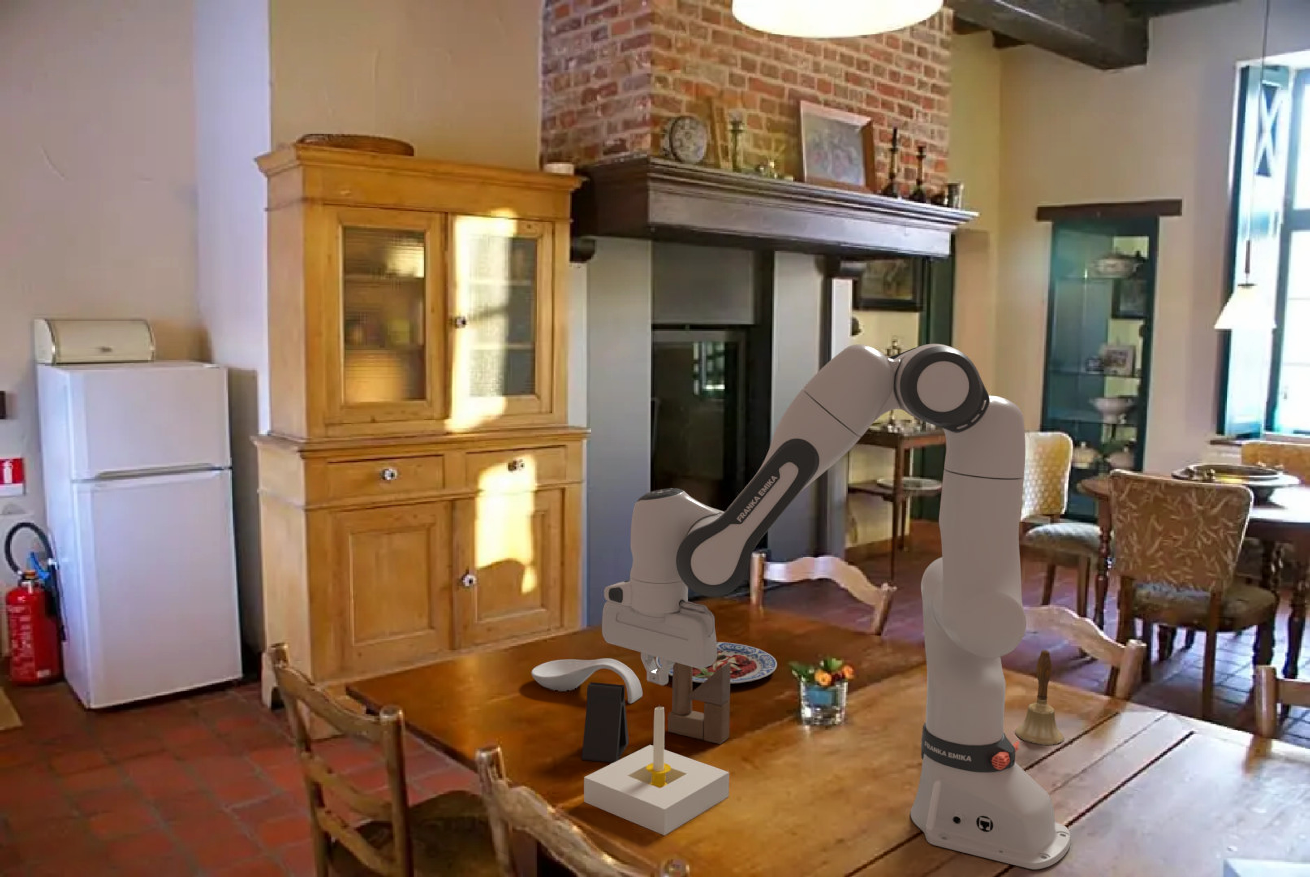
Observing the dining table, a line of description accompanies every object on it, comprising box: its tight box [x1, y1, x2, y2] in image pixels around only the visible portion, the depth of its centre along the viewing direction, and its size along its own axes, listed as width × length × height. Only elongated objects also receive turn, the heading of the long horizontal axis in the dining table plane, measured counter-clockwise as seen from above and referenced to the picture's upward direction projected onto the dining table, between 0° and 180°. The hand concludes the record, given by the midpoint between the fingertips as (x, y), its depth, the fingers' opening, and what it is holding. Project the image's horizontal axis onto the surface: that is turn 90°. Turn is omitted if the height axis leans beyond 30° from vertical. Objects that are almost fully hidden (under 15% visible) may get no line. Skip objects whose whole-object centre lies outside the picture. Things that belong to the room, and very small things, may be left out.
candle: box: [646, 704, 671, 788], centre depth 159 cm, size 5×5×16 cm
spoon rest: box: [530, 658, 643, 704], centre depth 207 cm, size 24×12×7 cm, turn 63°
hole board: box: [583, 744, 730, 836], centre depth 160 cm, size 16×16×4 cm
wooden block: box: [667, 662, 731, 745], centre depth 184 cm, size 4×11×18 cm, turn 61°
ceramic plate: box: [655, 641, 778, 685], centre depth 220 cm, size 26×26×3 cm
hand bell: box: [1014, 649, 1065, 746], centre depth 186 cm, size 8×8×16 cm
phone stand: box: [581, 681, 630, 764], centre depth 177 cm, size 9×6×12 cm, turn 167°
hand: (657, 682), depth 158 cm, fingers closed
